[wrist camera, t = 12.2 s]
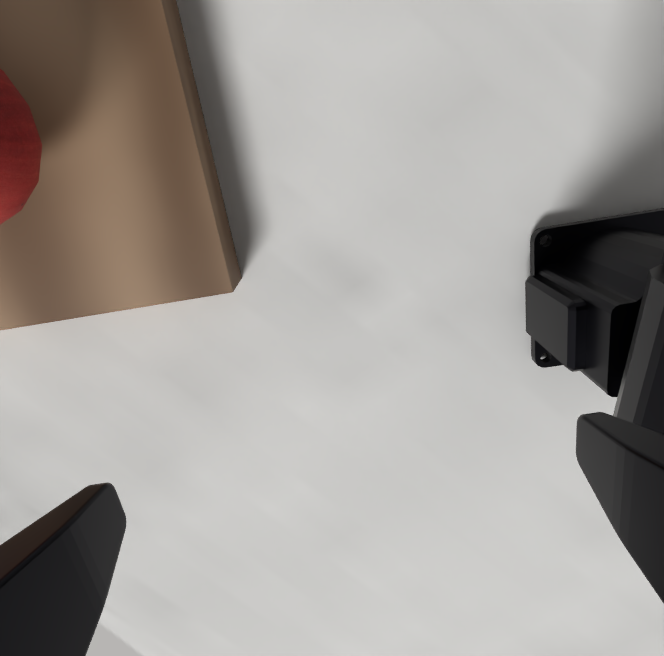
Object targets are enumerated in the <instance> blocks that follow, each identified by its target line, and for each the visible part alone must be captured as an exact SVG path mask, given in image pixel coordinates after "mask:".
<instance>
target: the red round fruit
mask: <svg viewBox="0 0 664 656" xmlns="http://www.w3.org/2000/svg"><path fill="white" fill-rule="evenodd" d="M41 153H42V143H41V140H40V137H39V134H38V131H37V128H36V125H35V122H34V119H33V116H32V113H31V110H30V107H29V105H28V104H27V102H26V101H25V100H24V98H23V97H22V96H21V94H20V93H19V91H18V90H17V89H16V87H15V86H14V85H13V83H12V82H11V81H10V79H9V78H8V76H7V75H6V74H5V72H4V71H3V70H1V69H0V225H1V224H2V223H4V222H5V221H6V220H8V219H9V218H11V217H12V216H14V215H15V214H17V213H18V212H20V211H21V210H22V209H23V207H24V205H25V203H26V202H27V200H28V198H29V197H30V195H31V193H32V192H33V190H34V188H35V187H36V185H37V183H38V182H39V172H40V163H41Z"/></svg>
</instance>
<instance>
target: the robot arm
mask: <svg viewBox="0 0 664 656" xmlns="http://www.w3.org/2000/svg"><path fill="white" fill-rule="evenodd" d="M544 235H547V237H548V240H547V242H546V243H545V244H543V245H541V244H540V239H541V237H542V236H544ZM530 265H531V276H529V277H528V279H527V280H526V282H525V292H526V332H527V333H528V334H529V335H530V336H531V356H532V360H533V361H534V362H535V363H536V364H537V365H538V366H540V367H552V366H559V365H564V366H565V367H566V368H568V369H569V370H570V371H581V372H582V373H583V374H585V375H586V376H587V377H588V378H589V379H591V380H592V381H593V382H594V383H595V384H596V385H598V386H599V387H600V388H601V389H602V390H603V391H605V392H606V393H607V394H608V395H609V396H611V397H618V398H617V402H616V406H615V410H614V414H613V416H612V415H609V414H606V413H603V412H597V413H590V414H583V415H581V416H580V417H579V418H578V420H577V434H576V456H577V460H578V463H579V465H580V467H581V469H582V471H583V473H584V474H585V476H586V478H587V480H588V482H589V484H590V486H591V487H592V489H593V491H594V493H595V495H596V497H597V499H598V500H599V502H600V504H601V506H602V508H603V510H604V511H605V513H606V515H607V517H608V519H609V521H610V523H611V524H612V526H613V528H614V530H615V531H616V533H617V535H618V537H619V538H620V540H621V541H622V543H623V544H624V546H625V547H626V549H627V550H628V552H629V553H630V555H631V556H632V558H633V559H634V561H635V562H636V564H637V565H638V567H639V568H640V569H641V571H642V572H643V574H644V575H645V577H646V578H647V580H648V581H649V583H650V584H651V585H652V587H653V588H654V590H655V591H656V593H657V594H658V596H659V597H660V599H661V600H662V602H663V603H664V208H661V209H655V210H649V211H643V212H636V213H630V214H624V215H617V216H611V217H605V218H599V219H592V220H586V221H580V222H573V223H567V224H561V225H555V226H548V227H542V228H539V229H537V230H536V231H534V232H533V234H532V236H531V240H530ZM544 353H548V354H547V357H546V358H544V359H540V358H541V355H542V354H544ZM125 529H126V516H125V513H124V510H123V508H122V505H121V502H120V500H119V497H118V495H117V492H116V490H115V488H114V486H113V485H112V484H110V483H101V484H94V485H89V486H87V487H85V488H84V489H83V490H81V491H80V492H78V493H77V494H75V495H74V496H72V497H71V498H69V499H68V500H66V501H65V502H63V503H62V504H60V505H59V506H57V507H56V508H54V509H53V510H52V511H50V512H49V513H47V514H46V515H44V516H43V517H41V518H40V519H38V520H37V521H35V522H34V523H32V524H31V525H29V526H28V527H26V528H25V529H24V530H22V531H21V532H19V533H18V534H16V535H15V536H13V537H12V538H10V539H9V540H7V541H6V542H4V543H3V544H1V545H0V656H85V655H86V653H87V650H88V648H89V645H90V642H91V640H92V637H93V635H94V632H95V629H96V627H97V624H98V621H99V619H100V616H101V613H102V610H103V607H104V605H105V601H106V598H107V595H108V591H109V588H110V584H111V580H112V577H113V573H114V569H115V566H116V562H117V558H118V555H119V551H120V547H121V544H122V540H123V536H124V533H125Z"/></svg>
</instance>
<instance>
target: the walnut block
mask: <svg viewBox="0 0 664 656" xmlns="http://www.w3.org/2000/svg"><path fill="white" fill-rule="evenodd" d="M0 69H1V70H3V71H4V72H5V74H6V75H7V76H8V78H9V79H10V81H11V82H12V83H13V85H14V86H15V87H16V89H17V90H18V91H19V93H20V94H21V96H22V97H23V98H24V100H25V101H26V102H27V104H28V105H29V107H30V110H31V113H32V116H33V119H34V122H35V125H36V128H37V131H38V134H39V137H40V140H41V143H42V153H41V163H40V172H39V182H38V183H37V185H36V187H35V188H34V190H33V192H32V193H31V195H30V197H29V198H28V200H27V202H26V203H25V205H24V207H23V209H22V210H21V211H20V212H18V213H17V214H15V215H14V216H12V217H11V218H9V219H8V220H6V221H5V222H4V223H2V224H1V225H0V330H5V329H11V328H17V327H24V326H30V325H36V324H42V323H48V322H54V321H60V320H66V319H72V318H78V317H85V316H91V315H97V314H103V313H109V312H115V311H121V310H127V309H133V308H139V307H146V306H152V305H158V304H164V303H170V302H176V301H182V300H188V299H194V298H200V297H207V296H213V295H219V294H225V293H231V292H233V291H234V290H235V288H236V286H237V285H238V283H239V282H240V280H241V279H242V277H241V273H240V269H239V265H238V260H237V256H236V252H235V248H234V244H233V239H232V235H231V231H230V227H229V222H228V218H227V214H226V210H225V206H224V201H223V197H222V193H221V189H220V184H219V180H218V176H217V172H216V168H215V163H214V159H213V155H212V151H211V146H210V142H209V138H208V134H207V129H206V125H205V121H204V117H203V113H202V108H201V104H200V100H199V96H198V91H197V87H196V83H195V79H194V75H193V70H192V66H191V62H190V58H189V53H188V49H187V45H186V41H185V37H184V32H183V28H182V24H181V20H180V15H179V11H178V7H177V3H176V0H0Z"/></svg>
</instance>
